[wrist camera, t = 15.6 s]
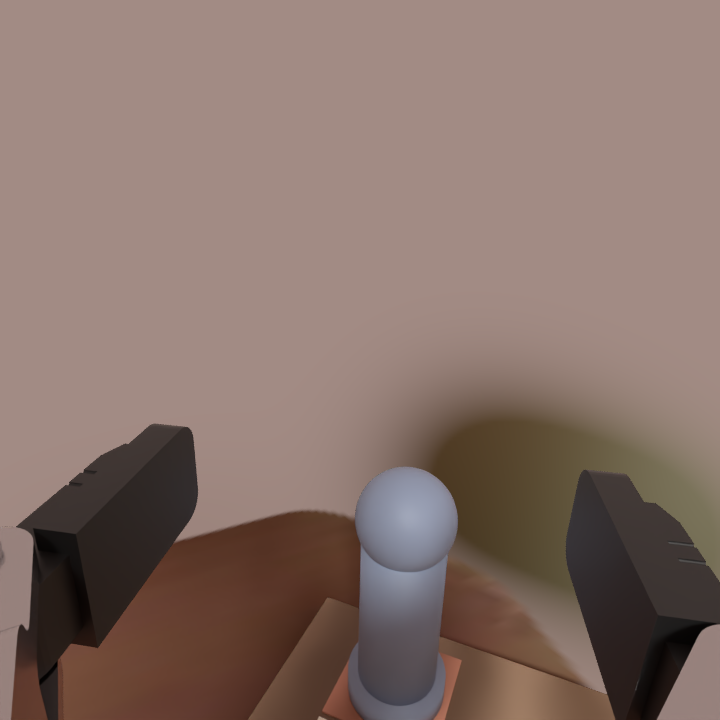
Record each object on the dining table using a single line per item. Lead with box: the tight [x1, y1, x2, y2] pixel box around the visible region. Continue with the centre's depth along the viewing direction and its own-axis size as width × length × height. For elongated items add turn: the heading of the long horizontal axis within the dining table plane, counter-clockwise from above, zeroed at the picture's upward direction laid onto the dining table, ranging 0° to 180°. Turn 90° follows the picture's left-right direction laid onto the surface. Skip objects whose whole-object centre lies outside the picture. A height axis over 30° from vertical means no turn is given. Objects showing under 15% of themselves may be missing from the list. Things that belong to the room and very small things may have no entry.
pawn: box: [348, 467, 458, 720], centre depth 25 cm, size 5×5×13 cm
